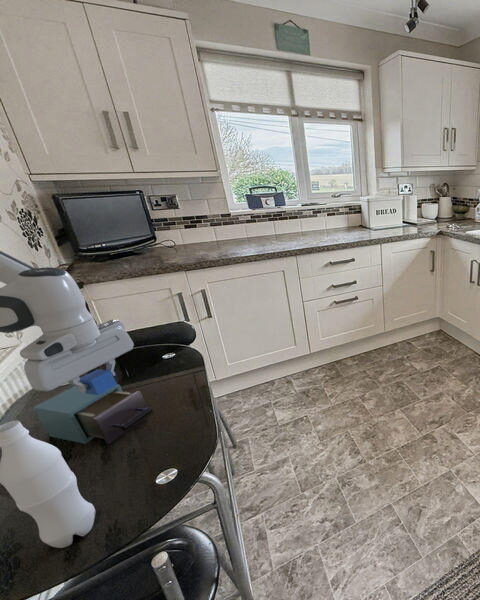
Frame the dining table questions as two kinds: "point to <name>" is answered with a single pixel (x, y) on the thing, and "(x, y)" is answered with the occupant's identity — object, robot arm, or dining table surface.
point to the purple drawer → (112, 415)
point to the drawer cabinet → (67, 413)
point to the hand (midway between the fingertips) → (98, 383)
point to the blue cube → (98, 381)
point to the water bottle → (43, 486)
